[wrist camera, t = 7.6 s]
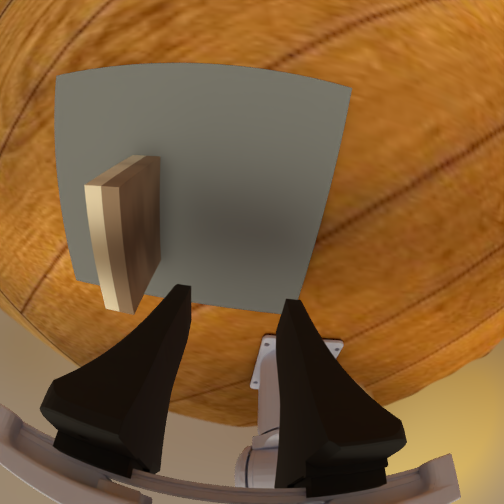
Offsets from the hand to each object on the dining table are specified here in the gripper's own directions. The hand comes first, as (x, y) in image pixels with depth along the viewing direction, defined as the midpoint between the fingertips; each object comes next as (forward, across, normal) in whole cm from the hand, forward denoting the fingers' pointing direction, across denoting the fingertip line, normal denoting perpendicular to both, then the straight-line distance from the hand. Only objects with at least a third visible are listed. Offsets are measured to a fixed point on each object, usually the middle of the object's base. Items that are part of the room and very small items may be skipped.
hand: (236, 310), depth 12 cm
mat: (+9, +5, -1) cm, 10 cm away
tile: (+8, +7, 0) cm, 11 cm away
